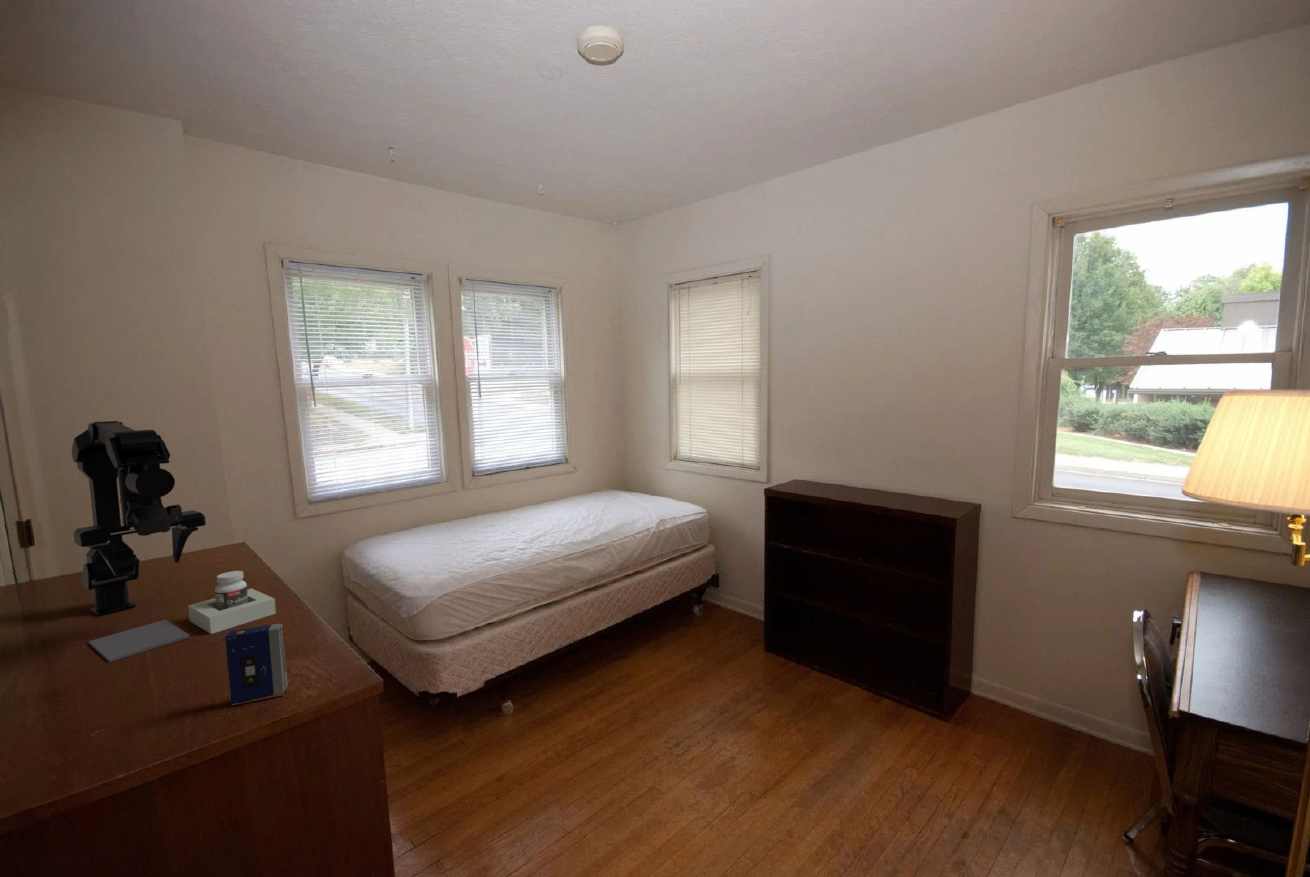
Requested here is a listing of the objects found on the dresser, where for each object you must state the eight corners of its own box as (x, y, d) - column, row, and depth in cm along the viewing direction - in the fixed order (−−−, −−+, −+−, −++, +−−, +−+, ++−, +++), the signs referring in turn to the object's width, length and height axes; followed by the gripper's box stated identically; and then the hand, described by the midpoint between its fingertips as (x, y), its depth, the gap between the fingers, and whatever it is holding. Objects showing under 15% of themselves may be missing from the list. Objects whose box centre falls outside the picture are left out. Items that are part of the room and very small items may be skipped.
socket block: (189, 621, 120) (188, 605, 120) (252, 602, 130) (251, 588, 130) (211, 634, 114) (209, 617, 114) (275, 613, 124) (274, 598, 124)
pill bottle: (231, 623, 119) (227, 579, 118) (210, 621, 120) (206, 578, 119) (255, 613, 124) (252, 570, 123) (235, 611, 126) (231, 569, 125)
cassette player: (230, 707, 88) (224, 635, 86) (235, 699, 90) (228, 629, 89) (285, 696, 91) (279, 626, 89) (288, 689, 93) (282, 621, 92)
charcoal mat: (88, 643, 110) (88, 641, 110) (165, 621, 120) (165, 619, 120) (109, 662, 103) (108, 659, 102) (189, 637, 113) (189, 634, 112)
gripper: (84, 506, 97) (94, 591, 99) (212, 489, 113) (219, 562, 114) (68, 499, 103) (78, 580, 105) (192, 484, 119) (198, 554, 120)
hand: (147, 568), depth 111 cm, fingers open, 9 cm apart
